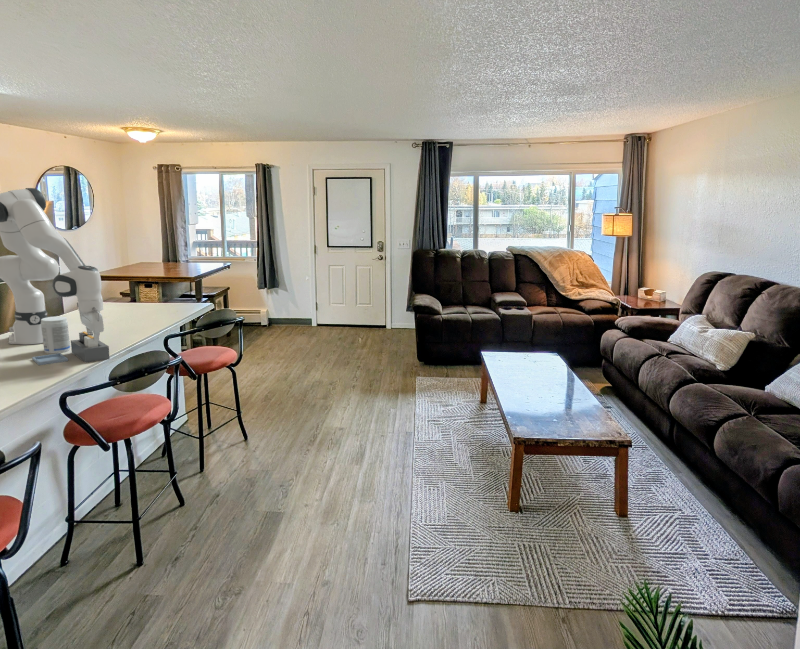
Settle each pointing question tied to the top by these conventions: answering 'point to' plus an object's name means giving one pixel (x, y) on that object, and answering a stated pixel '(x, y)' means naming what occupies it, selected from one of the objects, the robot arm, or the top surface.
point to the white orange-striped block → (90, 341)
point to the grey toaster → (89, 350)
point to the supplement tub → (55, 334)
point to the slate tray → (49, 359)
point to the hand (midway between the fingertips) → (93, 338)
